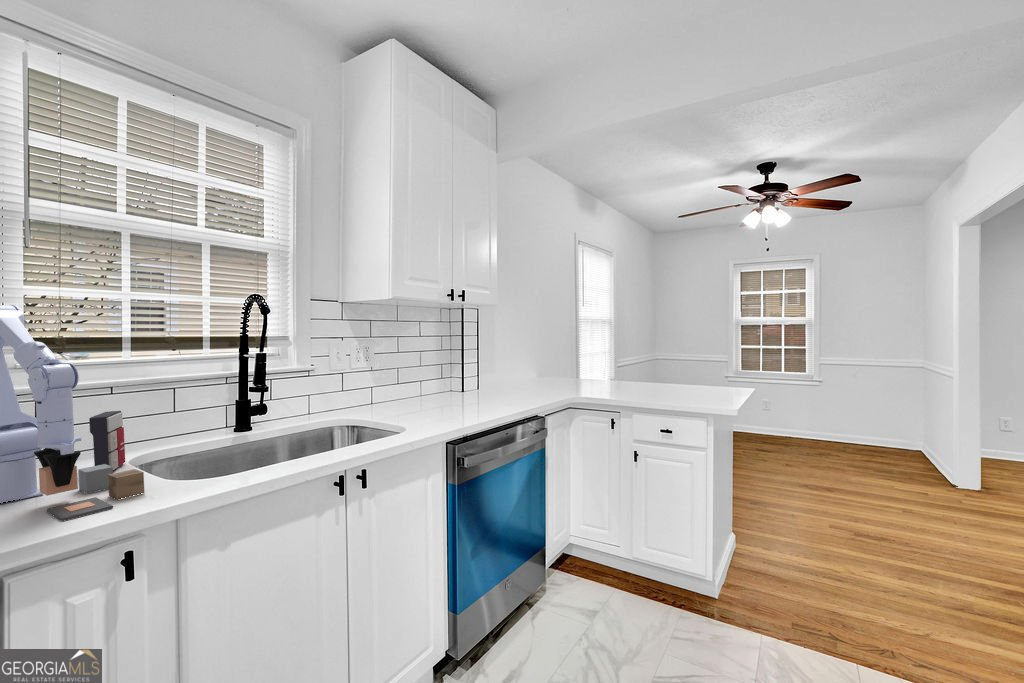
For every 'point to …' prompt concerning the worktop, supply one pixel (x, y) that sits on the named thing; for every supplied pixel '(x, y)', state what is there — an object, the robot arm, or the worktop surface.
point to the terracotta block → (49, 486)
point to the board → (79, 508)
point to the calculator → (108, 439)
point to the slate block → (94, 478)
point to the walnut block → (126, 483)
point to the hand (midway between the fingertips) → (58, 483)
